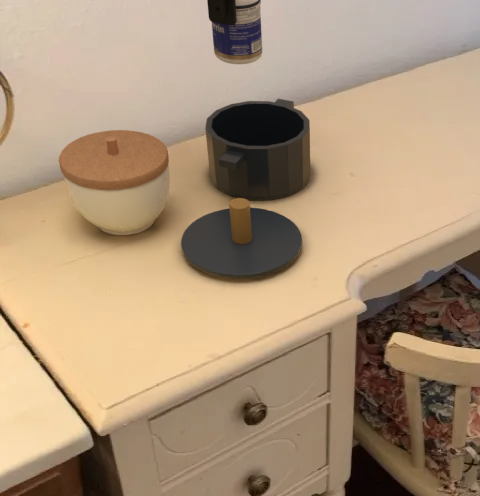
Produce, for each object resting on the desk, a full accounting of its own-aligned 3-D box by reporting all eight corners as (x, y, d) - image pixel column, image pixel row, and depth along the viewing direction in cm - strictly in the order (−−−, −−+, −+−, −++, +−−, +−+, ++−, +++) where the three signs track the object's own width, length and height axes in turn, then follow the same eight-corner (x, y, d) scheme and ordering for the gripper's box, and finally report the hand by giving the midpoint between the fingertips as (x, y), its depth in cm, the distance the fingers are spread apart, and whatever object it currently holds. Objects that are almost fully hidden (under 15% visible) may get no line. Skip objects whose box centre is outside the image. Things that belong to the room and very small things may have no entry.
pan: (184, 198, 110) (177, 145, 105) (244, 135, 123) (241, 86, 118) (279, 219, 108) (277, 166, 102) (330, 153, 121) (331, 103, 116)
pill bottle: (208, 49, 101) (201, -40, 94) (254, 44, 103) (250, -44, 96) (221, 68, 97) (214, -23, 90) (268, 63, 99) (265, -27, 92)
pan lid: (160, 266, 99) (153, 221, 95) (215, 205, 109) (210, 162, 105) (274, 294, 96) (271, 249, 92) (319, 229, 106) (319, 186, 102)
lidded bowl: (185, 197, 110) (175, 117, 103) (165, 251, 101) (152, 168, 94) (90, 191, 110) (73, 111, 102) (60, 244, 101) (39, 161, 93)
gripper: (227, -191, 90) (238, -15, 103) (146, -162, 79) (169, 33, 91) (291, -183, 89) (294, -5, 102) (219, -152, 77) (232, 45, 90)
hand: (235, 11), depth 96 cm, fingers closed on pill bottle, 5 cm apart
